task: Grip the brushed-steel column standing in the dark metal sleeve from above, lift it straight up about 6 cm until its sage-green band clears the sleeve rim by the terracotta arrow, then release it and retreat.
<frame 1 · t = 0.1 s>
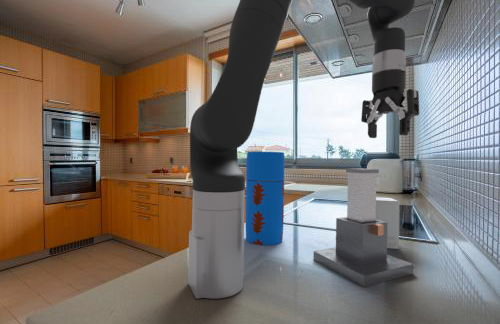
hand: (387, 136, 65), 29 cm above the worktop, tool pointing down, fingers open, 8 cm apart
thermos: (264, 240, 74), on the worktop
stand base: (360, 266, 56), on the worktop
column: (361, 212, 56), point 12 cm above the worktop, slide at 0.0 cm
supplement box: (380, 244, 72), on the worktop
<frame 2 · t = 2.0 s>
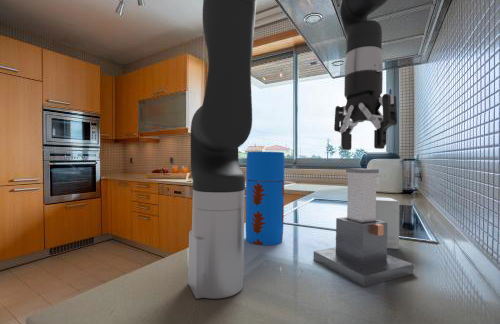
hand: (362, 149, 56), 25 cm above the worktop, tool pointing down, fingers open, 8 cm apart
nothing on the worktop moved.
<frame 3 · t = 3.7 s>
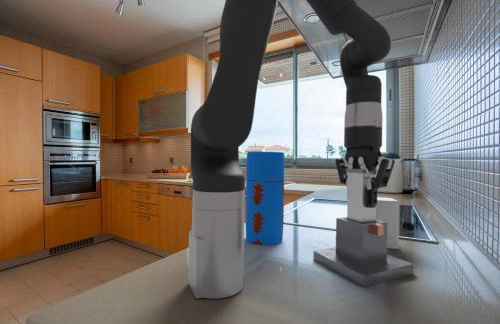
hand: (361, 205, 56), 13 cm above the worktop, tool pointing down, fingers closed on column, 4 cm apart
column: (361, 212, 56), point 12 cm above the worktop, slide at 0.0 cm, touching gripper
everything else where it was.
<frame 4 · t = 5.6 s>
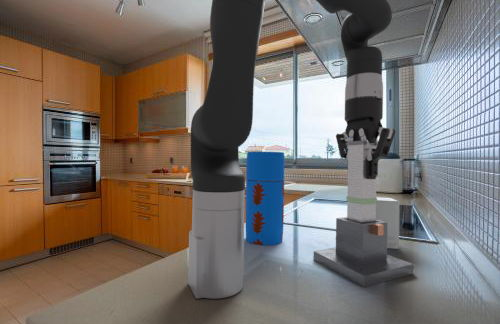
hand: (361, 177, 56), 19 cm above the worktop, tool pointing down, fingers closed on column, 4 cm apart
column: (361, 185, 56), point 18 cm above the worktop, slide at 5.9 cm, touching gripper
everything else where it was.
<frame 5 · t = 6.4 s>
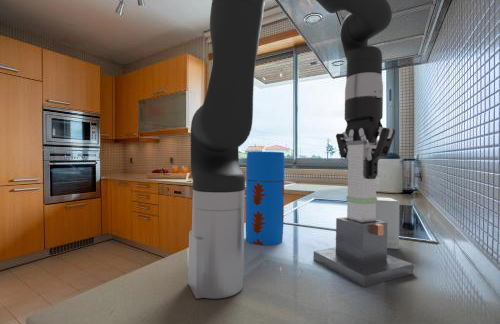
hand: (361, 177, 56), 19 cm above the worktop, tool pointing down, fingers closed on column, 4 cm apart
column: (361, 184, 56), point 18 cm above the worktop, slide at 5.9 cm, touching gripper
everything else where it was.
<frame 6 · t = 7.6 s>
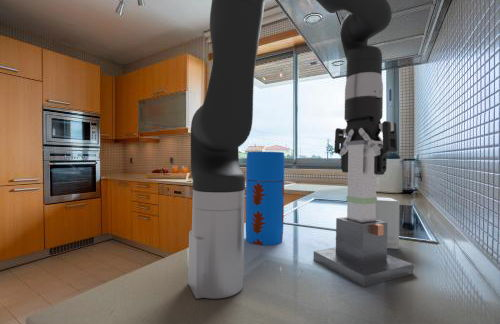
hand: (361, 173, 56), 20 cm above the worktop, tool pointing down, fingers open, 8 cm apart
column: (361, 184, 56), point 18 cm above the worktop, slide at 6.0 cm
everything else where it was.
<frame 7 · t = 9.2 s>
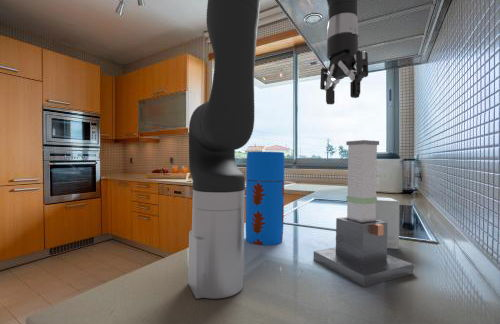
hand: (342, 101, 66), 38 cm above the worktop, tool pointing down, fingers open, 8 cm apart
nothing on the worktop moved.
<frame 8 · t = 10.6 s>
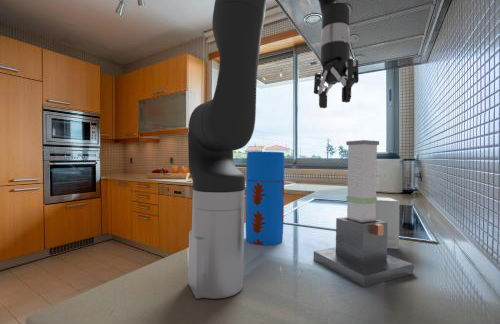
hand: (333, 105, 70), 38 cm above the worktop, tool pointing down, fingers open, 8 cm apart
nothing on the worktop moved.
at the end: column slide at 6.0 cm; the gripper is holding nothing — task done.
